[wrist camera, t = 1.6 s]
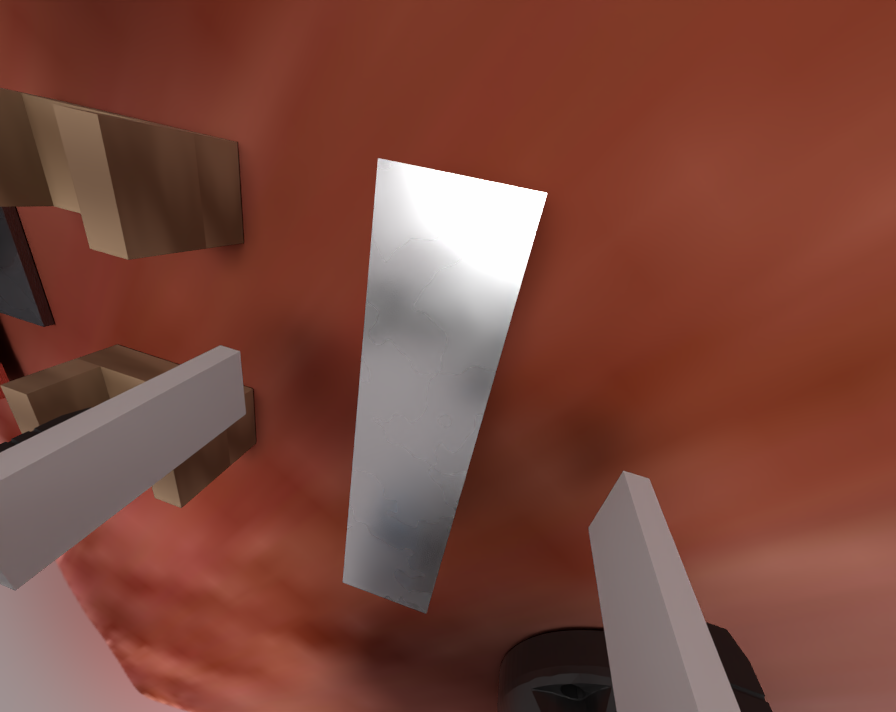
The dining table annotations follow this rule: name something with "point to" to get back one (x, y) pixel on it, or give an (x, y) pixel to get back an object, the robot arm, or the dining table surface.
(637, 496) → the robot arm
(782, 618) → the dining table surface
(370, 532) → the steel bar
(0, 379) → the silver lever handle
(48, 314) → the base
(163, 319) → the dining table surface
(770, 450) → the dining table surface
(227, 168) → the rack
